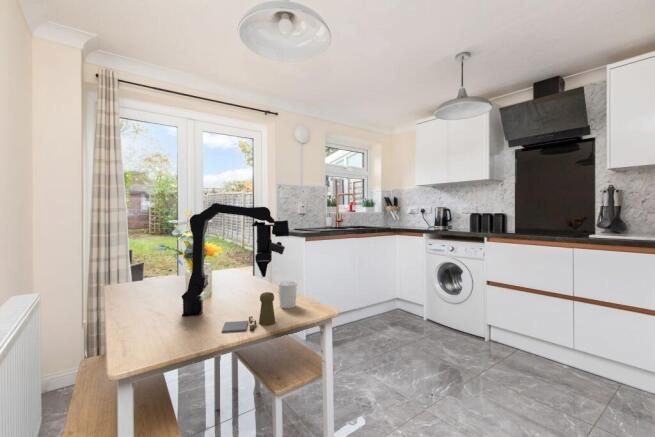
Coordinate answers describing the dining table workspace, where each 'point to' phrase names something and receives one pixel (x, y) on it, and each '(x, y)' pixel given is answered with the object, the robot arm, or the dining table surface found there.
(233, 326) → the slate pad
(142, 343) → the dining table surface
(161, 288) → the dining table surface
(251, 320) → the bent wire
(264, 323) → the olive pawn
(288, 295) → the white cup
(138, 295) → the dining table surface
